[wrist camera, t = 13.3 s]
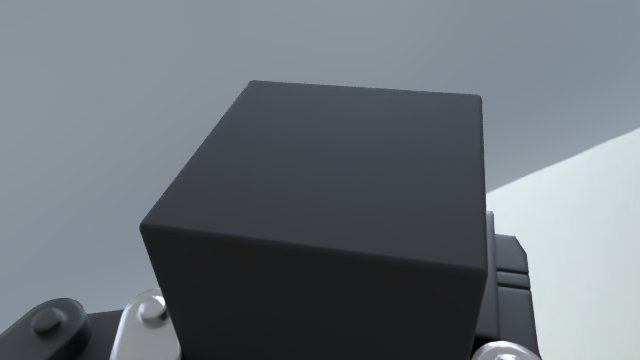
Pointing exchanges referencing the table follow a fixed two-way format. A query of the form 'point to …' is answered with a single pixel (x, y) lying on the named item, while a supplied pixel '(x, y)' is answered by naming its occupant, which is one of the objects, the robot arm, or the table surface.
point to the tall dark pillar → (327, 227)
